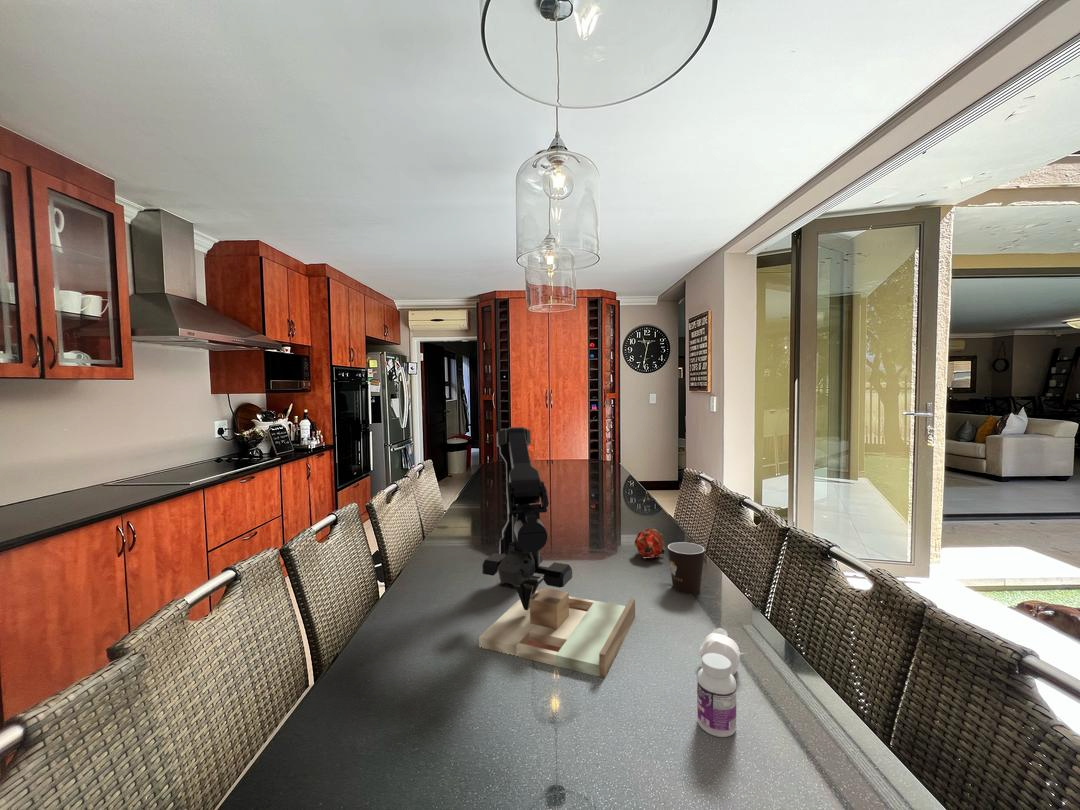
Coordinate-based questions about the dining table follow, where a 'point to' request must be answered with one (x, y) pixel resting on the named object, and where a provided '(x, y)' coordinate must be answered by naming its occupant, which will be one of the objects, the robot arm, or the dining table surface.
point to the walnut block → (549, 608)
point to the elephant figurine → (722, 647)
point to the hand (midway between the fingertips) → (526, 609)
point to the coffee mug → (686, 566)
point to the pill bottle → (716, 696)
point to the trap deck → (565, 635)
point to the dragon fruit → (650, 543)
